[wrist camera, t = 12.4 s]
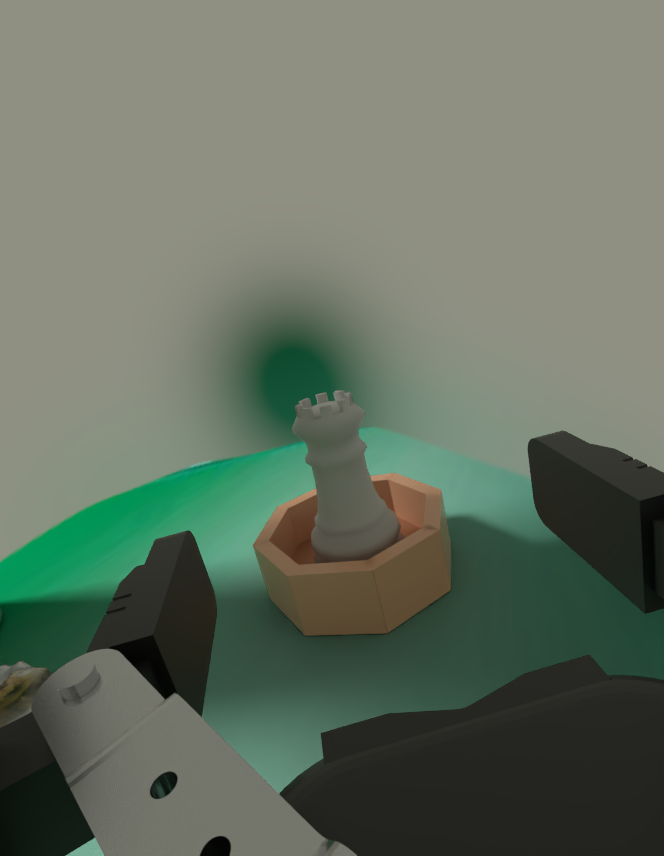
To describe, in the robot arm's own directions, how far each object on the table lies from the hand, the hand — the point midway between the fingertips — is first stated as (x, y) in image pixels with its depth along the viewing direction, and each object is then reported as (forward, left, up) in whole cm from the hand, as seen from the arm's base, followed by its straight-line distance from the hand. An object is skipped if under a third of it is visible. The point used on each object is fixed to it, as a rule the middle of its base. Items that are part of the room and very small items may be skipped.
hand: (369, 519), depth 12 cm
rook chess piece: (-3, +10, -8) cm, 13 cm away
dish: (-4, +10, -8) cm, 14 cm away
